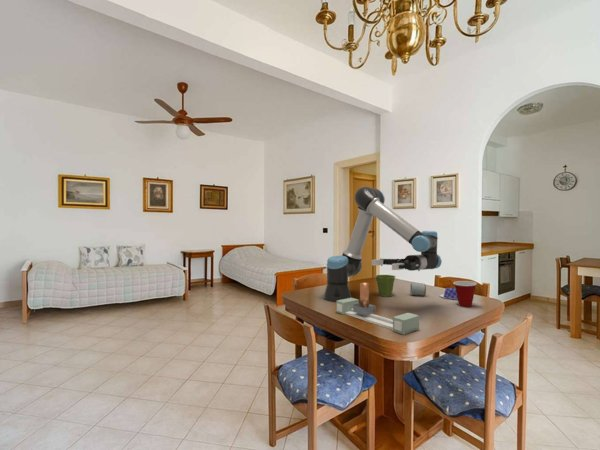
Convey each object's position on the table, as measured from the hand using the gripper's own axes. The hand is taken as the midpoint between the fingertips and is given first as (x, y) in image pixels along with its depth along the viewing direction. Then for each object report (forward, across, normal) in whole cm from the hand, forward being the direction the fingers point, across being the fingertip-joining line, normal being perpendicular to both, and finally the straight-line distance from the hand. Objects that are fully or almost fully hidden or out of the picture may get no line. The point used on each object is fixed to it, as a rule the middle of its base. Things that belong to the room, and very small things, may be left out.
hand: (381, 264), depth 143 cm
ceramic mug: (-46, +20, -23) cm, 55 cm away
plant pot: (-28, +28, -24) cm, 46 cm away
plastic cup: (-49, -8, -22) cm, 54 cm away
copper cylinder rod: (+10, 0, -21) cm, 23 cm away
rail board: (+9, -6, -23) cm, 25 cm away
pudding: (-58, +7, -23) cm, 63 cm away
